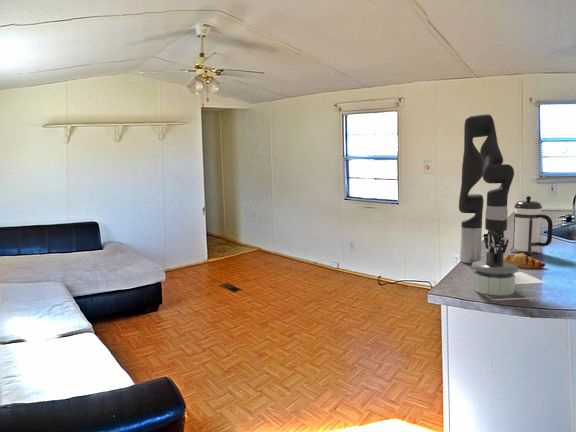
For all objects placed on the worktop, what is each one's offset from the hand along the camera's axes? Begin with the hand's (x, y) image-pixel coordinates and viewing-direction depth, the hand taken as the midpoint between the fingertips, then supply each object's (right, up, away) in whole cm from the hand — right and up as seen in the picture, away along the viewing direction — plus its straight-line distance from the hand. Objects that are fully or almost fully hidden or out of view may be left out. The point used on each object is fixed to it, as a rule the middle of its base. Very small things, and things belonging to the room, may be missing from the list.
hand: (494, 261), depth 165 cm
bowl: (0, -11, +2) cm, 12 cm away
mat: (+16, -9, +16) cm, 24 cm away
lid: (0, -3, 0) cm, 3 cm away
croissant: (+29, -6, +36) cm, 47 cm away
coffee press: (+48, -2, +62) cm, 78 cm away
